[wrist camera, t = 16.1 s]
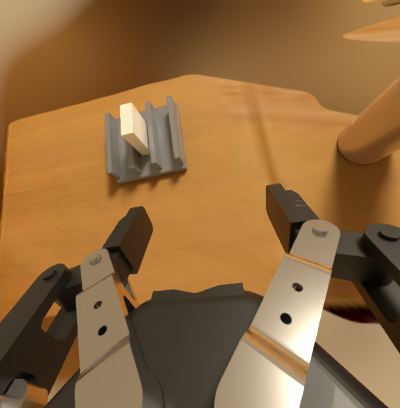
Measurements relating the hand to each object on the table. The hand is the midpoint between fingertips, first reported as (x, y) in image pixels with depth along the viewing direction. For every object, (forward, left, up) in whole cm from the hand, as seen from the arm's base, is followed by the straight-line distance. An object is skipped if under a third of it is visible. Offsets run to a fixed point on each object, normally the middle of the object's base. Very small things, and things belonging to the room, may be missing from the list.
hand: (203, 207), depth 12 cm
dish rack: (+6, -28, -28) cm, 40 cm away
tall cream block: (+6, -28, -27) cm, 39 cm away
